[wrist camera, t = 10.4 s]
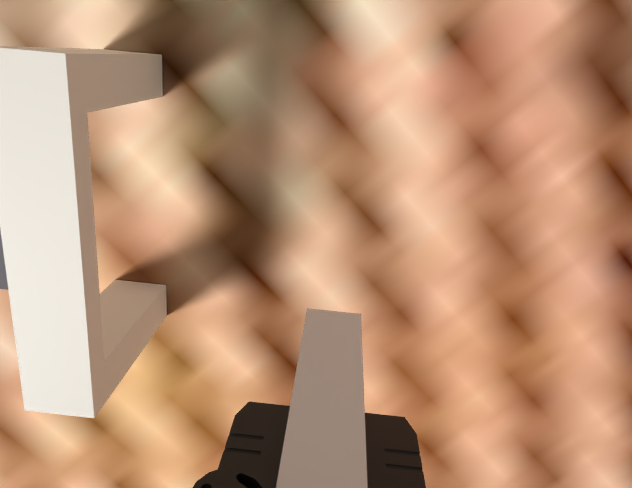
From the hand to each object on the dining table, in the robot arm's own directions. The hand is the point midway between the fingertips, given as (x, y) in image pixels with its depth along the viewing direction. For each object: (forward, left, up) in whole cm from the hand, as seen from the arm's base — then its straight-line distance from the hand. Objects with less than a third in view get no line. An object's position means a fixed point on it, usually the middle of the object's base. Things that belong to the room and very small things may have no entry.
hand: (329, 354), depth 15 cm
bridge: (+11, 0, -14) cm, 18 cm away
